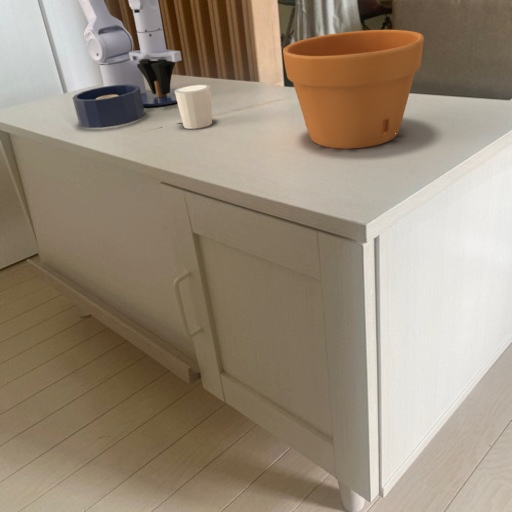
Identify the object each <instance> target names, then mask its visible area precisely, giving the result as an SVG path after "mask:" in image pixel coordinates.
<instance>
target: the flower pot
mask: <svg viewBox="0 0 512 512" xmlns="http://www.w3.org/2000/svg"><path fill="white" fill-rule="evenodd" d="M424 43H425V37H424V35H423V34H422V33H420V32H418V31H411V30H405V29H367V30H366V29H365V30H353V31H344V32H336V33H330V34H324V35H318V36H314V37H310V38H304V39H302V40H301V39H300V40H298V41H295V42H292V43H290V44H287V45H286V46H285V47H284V48H283V50H282V54H283V63H284V67H285V68H284V69H285V73H286V77H287V79H288V80H289V81H290V82H291V83H292V84H293V87H294V90H295V93H296V97H297V100H298V103H299V107H300V110H301V113H302V116H303V120H304V124H305V127H306V130H307V132H308V135H309V138H310V139H311V141H312V142H313V143H315V144H317V145H318V146H322V147H326V148H331V149H341V150H351V149H353V150H354V149H363V148H364V149H365V148H370V147H375V146H379V145H382V144H385V143H387V142H389V141H392V140H393V139H395V138H396V137H397V136H398V134H399V132H400V130H401V125H402V122H403V117H404V115H405V111H406V107H407V103H408V100H409V97H410V96H409V95H410V92H411V90H412V89H411V88H412V86H413V81H414V79H415V74H416V72H418V70H419V69H420V68H421V67H422V58H423V51H424V50H423V49H424ZM395 133H396V134H395Z"/></svg>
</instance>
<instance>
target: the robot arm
mask: <svg viewBox="0 0 512 512" xmlns="http://www.w3.org/2000/svg"><path fill="white" fill-rule="evenodd" d="M77 1H78V4H79V6H80V8H81V10H82V12H83V14H84V16H85V18H86V21H87V26H86V27H85V29H84V32H83V38H84V40H85V43H86V48H87V52H88V54H89V56H90V58H91V59H92V60H93V61H94V62H95V64H96V65H99V70H100V74H101V80H102V82H103V87H105V86H113V85H136V86H138V87H140V91H141V94H142V93H146V92H147V89H146V88H147V87H146V84H145V80H146V82H147V84H148V87H149V88H150V90H151V91H152V93H153V94H156V90H155V85H154V81H155V80H158V83H159V87H160V91H161V94H162V95H165V94H168V93H170V89H171V82H172V76H173V74H172V73H173V72H174V68H175V66H176V63H177V62H180V61H182V59H183V58H182V53H181V51H180V50H172V49H167V46H166V45H167V44H166V39H165V32H164V26H163V21H162V15H161V9H160V4H159V0H127V2H128V5H129V8H130V9H131V10H132V15H133V19H134V25H135V29H136V34H137V40H138V45H139V50H134V47H135V45H134V40H133V37H132V34H131V33H130V32H129V31H128V29H126V27H125V26H124V23H123V22H122V20H120V19H118V18H117V17H115V16H114V15H112V14H111V13H110V11H109V9H108V7H107V4H106V2H105V0H77Z"/></svg>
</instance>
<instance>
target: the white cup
mask: <svg viewBox="0 0 512 512" xmlns="http://www.w3.org/2000/svg"><path fill="white" fill-rule="evenodd" d="M177 88H178V89H176V90H175V95H176V99H177V102H176V103H177V106H178V110H179V115H180V118H181V123H182V125H183V128H185V129H188V130H189V129H190V130H195V129H196V130H197V129H201V128H206V127H209V126H211V125H213V112H212V89H211V85H209V84H190V85H185V86H181V87H177Z"/></svg>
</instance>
